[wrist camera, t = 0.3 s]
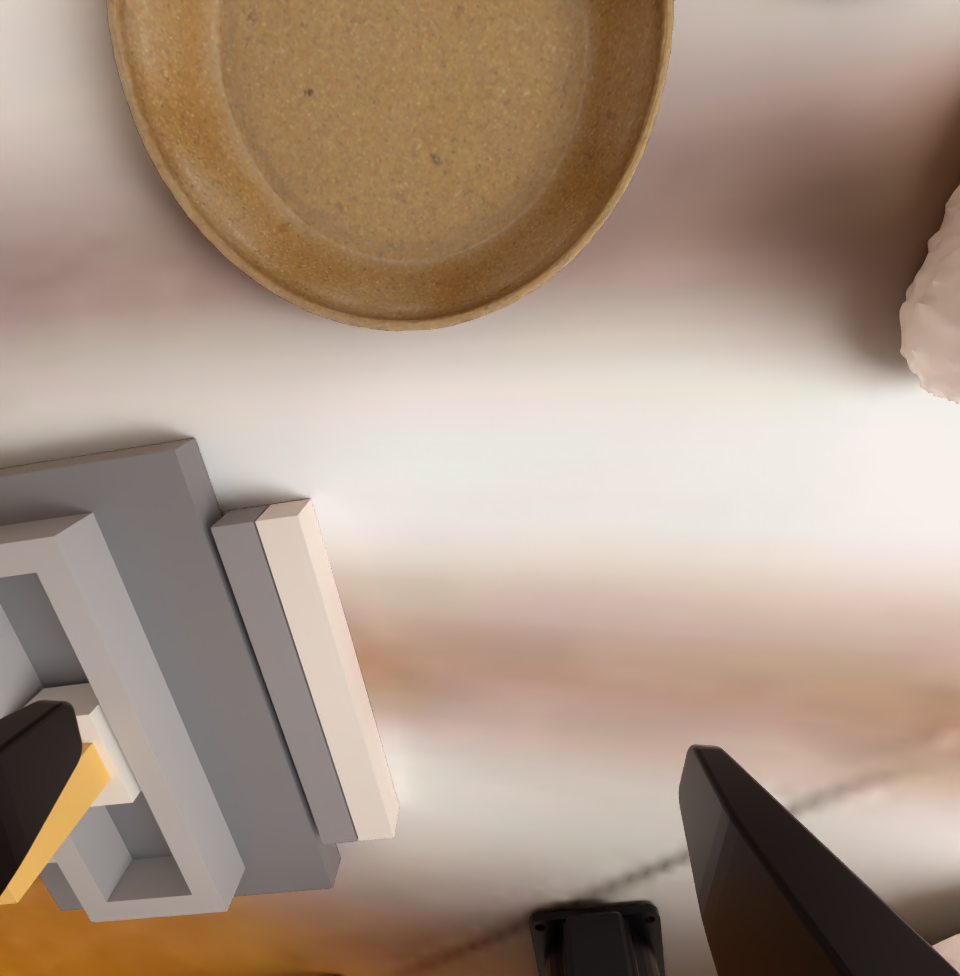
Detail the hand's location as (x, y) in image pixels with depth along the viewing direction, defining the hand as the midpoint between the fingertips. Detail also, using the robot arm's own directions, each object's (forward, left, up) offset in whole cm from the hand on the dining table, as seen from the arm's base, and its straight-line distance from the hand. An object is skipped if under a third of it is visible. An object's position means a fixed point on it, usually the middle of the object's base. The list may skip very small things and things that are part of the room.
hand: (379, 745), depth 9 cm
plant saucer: (+12, -1, -15) cm, 19 cm away
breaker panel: (-9, +16, -14) cm, 23 cm away
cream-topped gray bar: (-9, +7, -14) cm, 18 cm away
